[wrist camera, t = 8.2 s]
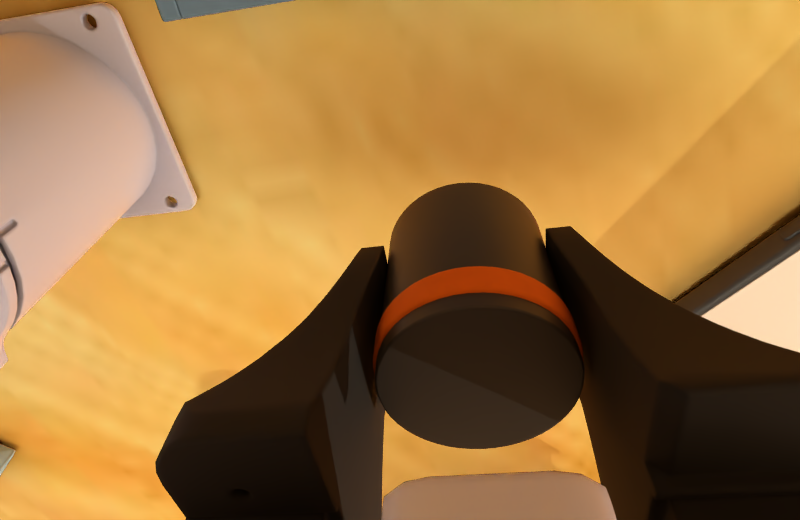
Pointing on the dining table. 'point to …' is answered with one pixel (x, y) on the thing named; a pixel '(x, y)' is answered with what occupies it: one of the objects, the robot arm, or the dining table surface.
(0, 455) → the gum box
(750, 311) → the phone case
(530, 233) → the dark brown cylinder
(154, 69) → the dining table surface
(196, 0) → the bin
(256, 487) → the robot arm
